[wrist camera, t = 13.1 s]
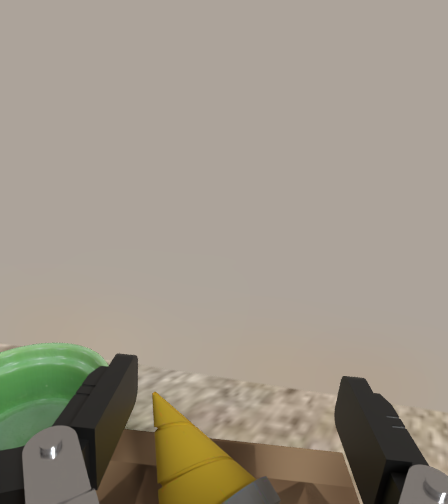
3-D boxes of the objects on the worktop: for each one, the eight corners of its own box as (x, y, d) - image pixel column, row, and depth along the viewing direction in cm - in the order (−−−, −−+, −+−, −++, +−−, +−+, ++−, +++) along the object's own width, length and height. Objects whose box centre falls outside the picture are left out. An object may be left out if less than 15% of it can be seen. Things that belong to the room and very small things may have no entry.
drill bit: (170, 760, 9) (77, 429, 15) (252, 645, 13) (153, 423, 19) (305, 641, 8) (153, 350, 14) (345, 561, 13) (214, 361, 19)
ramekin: (125, 395, 24) (125, 343, 23) (83, 530, 15) (79, 458, 14) (-2, 393, 23) (-10, 339, 22) (-123, 534, 14) (-147, 458, 13)
